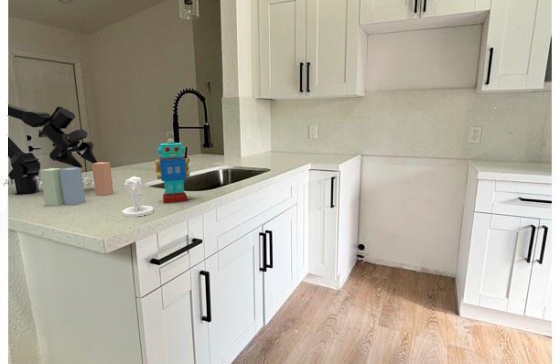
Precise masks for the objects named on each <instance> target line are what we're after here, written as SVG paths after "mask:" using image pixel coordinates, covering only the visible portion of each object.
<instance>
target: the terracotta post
mask: <svg viewBox="0 0 560 364" xmlns="http://www.w3.org/2000/svg"><path fill="white" fill-rule="evenodd" d="M97 162H98V161H97ZM91 168H92V175H93V177H92V178H93V186H94V191H95V192H94V193H95V196H109V195H112V194H114V188H113V187H114V186H113V177H112V169H111V163H110V162H109V161H108V162H107V161H105V162H104V161H99V162H98V163H94V164H93V163H91Z"/></svg>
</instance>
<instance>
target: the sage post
mask: <svg viewBox="0 0 560 364" xmlns="http://www.w3.org/2000/svg"><path fill="white" fill-rule="evenodd" d="M61 169H63V168H61V167H60V168H58V167H57V168H56V167H51V168H45V169H40V170H39V173H40V179H41V185H42V192H43V196H44V197H43V198H44V203H45V204H44V205H45V206H54V207H55V206H56V207H58V206H60V205H63V204H64V205H65V202H64V195H63V188H62V182H61V175H60V170H61Z"/></svg>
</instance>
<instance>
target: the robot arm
mask: <svg viewBox="0 0 560 364" xmlns="http://www.w3.org/2000/svg"><path fill="white" fill-rule="evenodd" d="M7 104H8V115H7V116H9V117H12V118H14V119H17V120H20V121H22V122H23V123H24V124H25V125H27V126H29V127H31V128H42V129H40V130H39V129H38V137H39V138H47V139H48V140H49V141H50V142H52V144H51V146H52V147H53V149H51V151H50V153H49V155H48V156H49V158H50V159H51V160H52V161H53V162H57V163H62V164H66V165H68V166H69V165H70V166H72V167H74V168H81V169H82V168H83V165H82V164H81V162H79V160H77V159H76V157H75V156H74V155H73V154H75V153H76V154H77V155H79V156H80V158H82V159H84V160H85V161H88V162H90V163H91V164H94V163H98V161H97V159H96V157H95V155H94V153H93V148H94V146H95V145H94V142H92V141H90V140H89V141H82V142H81V140H83V139H86V138H87V137H88V131H86V130H85V129H83V128H79V129H76V130H73V131H72V132H71V131H70V133H66V132H65V131H64V130H63V129H65V130H66V129H68V128H69V126H70V125H71V123H73V121H74V120H75V118H76V114H75V113H74V112H72V111H71V110H68V109H66V108H64V107H63V106H56V107H55V110H54V112H53V113H52V114H50V113H48V112H46V111H39V110H38V111H36V110H28V109H25V108H22V107H18V106H16V105H13V104H9V103H7ZM7 157H8V158H9V160H10V166H11V168H12V169H11V171H10V172H9V173H8V177H9V179H10V180H12V181H14V186H15V191H16V192H15V193H14V195H25V194H26V195H27V194H35V193H36V192H38V191H39V190H40V186H39V181H38V179H37V178H36V177H37V176H38V177H39V175H40V174H39V173H40V170H41V162H40V159H39V158H37V157H36V156H35V154H34V153H33V152H24V151H23V150H22V149H21V148H20V147H19V146H18V145H17V144H16V143H15V142H14V141H13V139H11V138H10V137H9V136H8V156H7Z"/></svg>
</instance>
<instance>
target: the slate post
mask: <svg viewBox="0 0 560 364" xmlns="http://www.w3.org/2000/svg"><path fill="white" fill-rule="evenodd" d="M60 175H61V182H62V188H63V195H64V202H65V203H64V205H66V206H67V205H69V206H71V205H73V206H74V205H75V206H76V205H77V206H78V205H79V204H82V203H85V202H86V196H85V195H86V194H85V189H84V182H83V174H82V168H78V167H66V168H62V169H61V170H60Z"/></svg>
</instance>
